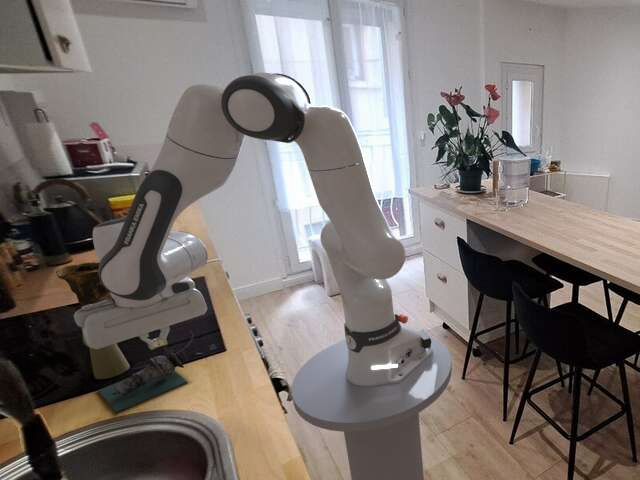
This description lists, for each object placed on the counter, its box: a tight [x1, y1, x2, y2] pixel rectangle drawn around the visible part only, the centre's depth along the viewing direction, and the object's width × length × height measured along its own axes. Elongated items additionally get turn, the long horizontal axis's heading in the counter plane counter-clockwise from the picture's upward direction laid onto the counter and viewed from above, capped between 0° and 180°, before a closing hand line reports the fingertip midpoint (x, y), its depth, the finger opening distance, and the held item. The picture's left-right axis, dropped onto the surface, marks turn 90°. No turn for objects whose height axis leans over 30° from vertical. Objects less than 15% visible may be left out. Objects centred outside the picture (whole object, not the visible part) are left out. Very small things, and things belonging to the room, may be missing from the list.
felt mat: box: [97, 370, 189, 414], centre depth 91 cm, size 12×12×1 cm
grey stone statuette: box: [112, 349, 185, 395], centre depth 91 cm, size 6×6×12 cm
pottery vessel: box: [55, 261, 112, 308], centre depth 117 cm, size 25×11×20 cm, turn 132°
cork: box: [81, 336, 131, 380], centre depth 94 cm, size 6×6×11 cm
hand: (158, 346), depth 92 cm, fingers closed
